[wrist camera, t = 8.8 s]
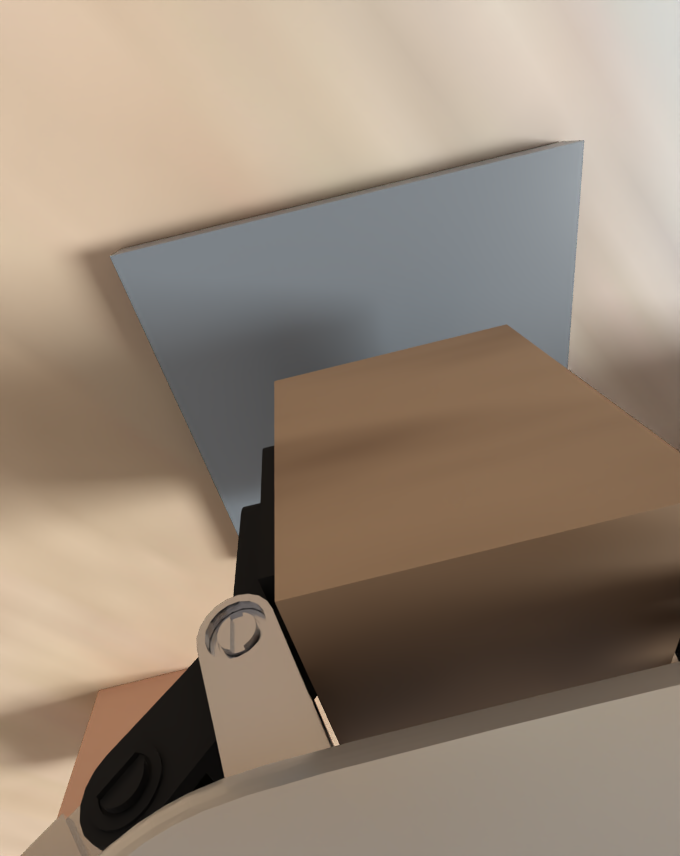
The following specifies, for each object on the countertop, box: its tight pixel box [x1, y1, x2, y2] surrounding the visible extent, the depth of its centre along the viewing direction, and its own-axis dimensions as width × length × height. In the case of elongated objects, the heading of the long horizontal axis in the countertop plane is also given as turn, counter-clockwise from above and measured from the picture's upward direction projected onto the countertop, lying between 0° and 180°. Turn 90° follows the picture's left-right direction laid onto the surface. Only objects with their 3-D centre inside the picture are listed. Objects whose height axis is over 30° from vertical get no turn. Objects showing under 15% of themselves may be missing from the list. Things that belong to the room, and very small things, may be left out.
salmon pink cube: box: [57, 669, 187, 818], centre depth 21 cm, size 6×6×6 cm
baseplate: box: [110, 140, 584, 536], centre depth 15 cm, size 12×12×1 cm
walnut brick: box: [274, 324, 680, 745], centre depth 9 cm, size 6×6×6 cm
